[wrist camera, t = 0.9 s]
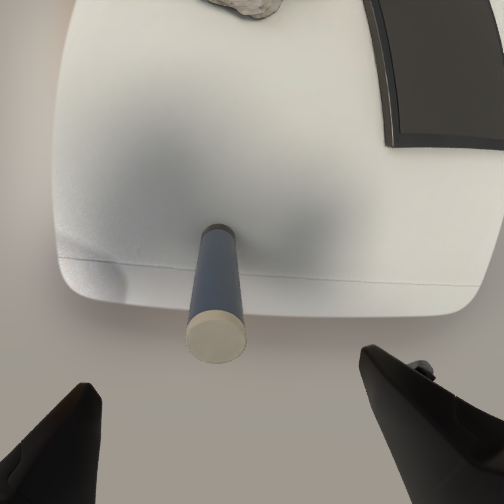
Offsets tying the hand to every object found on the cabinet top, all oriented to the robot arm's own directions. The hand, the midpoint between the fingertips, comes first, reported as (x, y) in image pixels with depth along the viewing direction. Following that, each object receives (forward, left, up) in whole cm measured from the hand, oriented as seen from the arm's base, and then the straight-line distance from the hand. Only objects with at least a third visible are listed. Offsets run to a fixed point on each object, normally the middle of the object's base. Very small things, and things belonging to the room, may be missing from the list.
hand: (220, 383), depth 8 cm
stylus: (0, 0, -12) cm, 12 cm away
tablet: (+1, -28, -12) cm, 31 cm away
